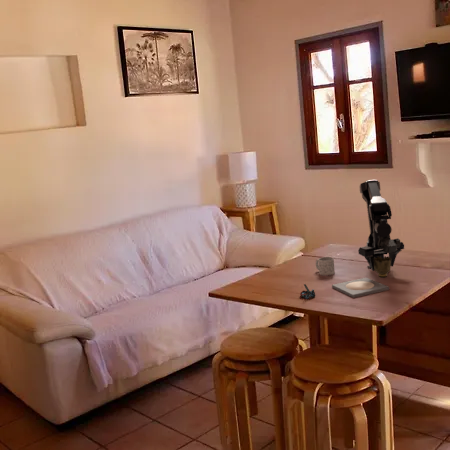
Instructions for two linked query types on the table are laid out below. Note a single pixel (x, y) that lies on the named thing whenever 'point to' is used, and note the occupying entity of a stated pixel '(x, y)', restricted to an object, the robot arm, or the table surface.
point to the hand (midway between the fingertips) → (382, 268)
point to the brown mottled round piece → (382, 266)
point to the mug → (325, 266)
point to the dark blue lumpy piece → (307, 293)
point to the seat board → (360, 287)
